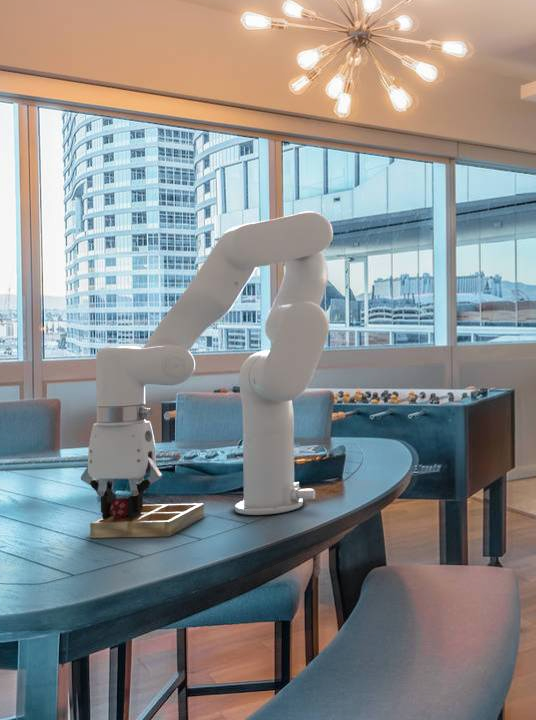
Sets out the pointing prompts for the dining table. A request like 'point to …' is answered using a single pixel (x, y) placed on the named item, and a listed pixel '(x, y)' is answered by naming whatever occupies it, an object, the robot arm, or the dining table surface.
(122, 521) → the wooden compartment tray
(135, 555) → the dining table surface
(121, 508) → the dice
